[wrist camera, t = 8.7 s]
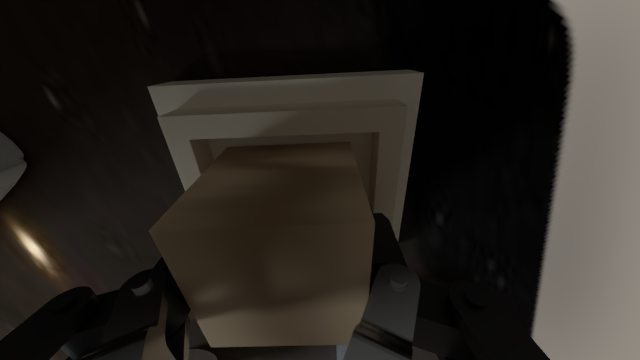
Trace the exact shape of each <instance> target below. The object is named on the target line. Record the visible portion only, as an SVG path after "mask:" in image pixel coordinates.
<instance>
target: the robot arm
mask: <svg viewBox="0 0 640 360" xmlns="http://www.w3.org/2000/svg"><path fill="white" fill-rule="evenodd" d="M369 205H370V208H371V211H372V207H371V204H370V202H369ZM372 214H373V218H374V221H375V231H374V242H373V253H372V265H371V276H370V287H369V298H368V301H367V304H366V307H365V310H364V312H363V315H362V318H361V321H360V323H359V324H357V325H356V327H355V329H354V331H353V333H352V336H351V339H350V342H349V345H348V347H347V350H346V353H345V356H344V359H343V360H412V346H415V347H418V348H421V349H424V350H427V351H430V352H432V353H435V354H436V355H437V357H438V359H439V360H550V359H549V358H548V357H547V356H546V355H545V353H544V352H543V351H542V350H541V349H540V347H539V346H538V345H537V344H536V343H535V342H534V340H533V339H532V338H531V337H530V336H529V334H528V333H527V332H526V331H525V330H524V329H523V327H522V326H521V325H520V324H519V323H518V322H517V320H516V319H515V318H514V317H513V316H512V315H511V313H510V312H509V311H508V310H507V309H506V308H505V306H504V305H503V304H502V303H501V302H500V301H499V299H498V298H497V297H496V296H495V295H494V294H493V293H492V292H491V291H490V290H488V289H487V288H485V287H484V286H482V285H480V284H478V283H475V282H472V281H467V280H459V281H456V282H454V283H453V284H451V286H450V288H446V287H442V286H439V285H435V284H431V283H428V282H425V281H423V280H421V279H419V278H418V276H417V275H416V274H415V272H414V271H412V270H411V269H410V268H408V267H407V264H406V262H405V259H404V257H403V254H402V252H401V249H400V246H399V244H398V241H397V239H396V237H395V233H394V231H393V228H392V226H391V223H390V220H389V219H388V218H387V217H386V216H385V215H384V214H383V213H373V211H372ZM190 310H191V309H190V307H189V305H188V304H187V302H186V300H185V298H184V296H183V294H182V292H181V290H180V289H179V287H178V285H177V283H176V281H175V279H174V277H173V276H172V274H171V272H170V270H169V268H168V266H167V264H166V262H165V261H164V259H163V257H161V259H160V260H159V261H158V263H157V264H156V265H155V266H154V268H153V269H148V270H144V271H142V272H140V273H137V274H136V275H134V276H132V277H131V278H130V279H128V280H127V281H126V282H125V283H124V284H123V285H122V286H121V288H120V289H119V290H115V291H111V292H108V293H104V294H100V295H97V296H96V294H95V293H94V292H93V291H92V289H91V288H89V287H85V286H82V287H77V288H73V289H70V290H68V291H65V292H63V293H61V294H60V295H58V296H56V297H55V298H53V299H52V300H50V301H49V302H48V303H46V304H45V305H44V306H43V307H41V308H40V309H39V310H38V311H36V312H35V313H34V314H33V315H31V316H30V317H29V318H28V319H27V320H25V321H24V322H23V323H22V324H20V325H19V326H18V327H17V328H15V329H14V330H13V331H12V332H10V333H9V334H8V335H7V336H6V337H4V338H3V339H2V340H1V341H0V360H49V359H50V358H51V357H52V356H53V355H54V354H55V353H56V352H57V351H58V350H59V349H62V350H63V351H64V352H65V353H66V354H67V355H68V356H69V357H68V358H67V359H66V360H189V330H190V320H189V317H188V314H189V312H190Z"/></svg>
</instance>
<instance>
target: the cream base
mask: <svg viewBox="0 0 640 360" xmlns="http://www.w3.org/2000/svg"><path fill="white" fill-rule="evenodd" d="M423 76H424V73H422V72H418V71H413V70H390V71H370V72H350V73H330V74H310V75H290V76H270V77H250V78H230V79H210V80H190V81H172V82H168V83H163V84H158V85H153V86H148V90H149V92H150V95H151V98H152V100H153V103H154V106H155V108H156V111H157V113H158V117H157V119H158V121H159V124H160V126H161V129H162V132H163V134H164V137H165V139H166V142H167V145H168V147H169V150H170V153H171V155H172V158H173V160H174V163H175V166H176V168H177V171H178V173H179V176H180V179H181V181H182V184H183V187H184V189H185V191H186V190H187V189H188V188H189V187H190V186H191V185H192V184H193V183H194V182H195V181H196V180H197V179H198V178H199V177H200V176H201V174H202V173H203V172H204V171H205V170H206V169H207V168H208V167H209V166H210V165H211V164H212V163H213V162H214V161H215V160H216V159H217V157H218V156H219V155H220V154H221V153H222V152H223V151H224V150H225V149H226V148H227V147H242V146H265V145H288V144H311V143H334V142H350V143H351V146H352V150H353V153H354V156H355V159H356V162H357V166H358V169H359V172H360V175H361V179H362V182H363V185H364V188H365V192H366V195H367V198H368V201H369V202H370V204H371V207H372V211H373V213H383V214H384V215H385V216H386V217H387V218H388V219H389V220H390V223H391V226H392V228H393V231H394V233H395V237H396V239H397V241H398V239H399V232H400V226H401V219H402V213H403V206H404V200H405V193H406V187H407V180H408V174H409V167H410V161H411V154H412V148H413V141H414V135H415V128H416V122H417V115H418V108H419V102H420V95H421V89H422V82H423Z"/></svg>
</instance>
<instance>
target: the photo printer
mask: <svg viewBox="0 0 640 360" xmlns="http://www.w3.org/2000/svg"><path fill="white" fill-rule="evenodd" d="M23 158H24V154H23V152H22V151H21V150H20V149H19V147H18V146H17V145H16V144H15V143H14V142H13V141H12V140H11V139H9V138H8V137H7V136H6V135H4V134H3V133H1V132H0V201H1V200H2V199H3V197H4V196H5V195H6V194H7V193H8V192H9V191H10V190H11V188H12V187H13V186H14V185H15V184H16V182H17V181H18V180H19V178H20V177H21V176H22V174H23V173H24V171H25V169H26V166H27V163H26V162H25V161H24V160H23Z"/></svg>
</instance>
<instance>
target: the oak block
mask: <svg viewBox="0 0 640 360" xmlns="http://www.w3.org/2000/svg"><path fill="white" fill-rule="evenodd" d="M374 231H375V221H374V218H373V214H372V211H371V208H370V205H369V201H368V198H367V195H366V192H365V188H364V185H363V182H362V179H361V175H360V172H359V169H358V166H357V162H356V159H355V156H354V153H353V150H352V146H351V143H350V142H334V143H311V144H288V145H265V146H242V147H227V148H226V149H225V150H224V151H223V152H222V153H221V154H220V155H219V156H218V157H217V159H216V160H215V161H214V162H213V163H212V164H211V165H210V166H209V167H208V168H207V169H206V170H205V171H204V172H203V173H202V174H201V176H200V177H199V178H198V179H197V180H196V181H195V182H194V183H193V184H192V185H191V186H190V187H189V188H188V189H187V190H186V191H185V193H184V194H183V195H182V196H181V197H180V198H179V199H178V200H177V201H176V202H175V203H174V204H173V205H172V206H171V207H170V208H169V210H168V211H167V212H166V213H165V214H164V215H163V216H162V217H161V218H160V219H159V220H158V221H157V222H156V223H155V224H154V225H153V227H152V228H151V229H150V230H149V232H150V234H151V236H152V238H153V240H154V242H155V244H156V246H157V247H158V249H159V251H160V253H161V255H162V257H163V259H164V261H165V262H166V264H167V266H168V268H169V270H170V272H171V274H172V276H173V277H174V279H175V281H176V283H177V285H178V287H179V289H180V290H181V292H182V294H183V296H184V298H185V300H186V302H187V304H188V305H189V307H190V309H191V311H192V313H193V315H194V317H195V319H196V320H197V322H198V324H199V326H200V328H201V330H202V332H203V334H204V335H205V337H206V339H207V341H208V343H209V345H210V347H253V346H301V345H349V342H350V339H351V336H352V333H353V331H354V329H355V327H356V325H357V324H359V323H360V321H361V318H362V315H363V312H364V310H365V307H366V304H367V301H368V298H369V287H370V276H371V265H372V253H373V242H374Z"/></svg>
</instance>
